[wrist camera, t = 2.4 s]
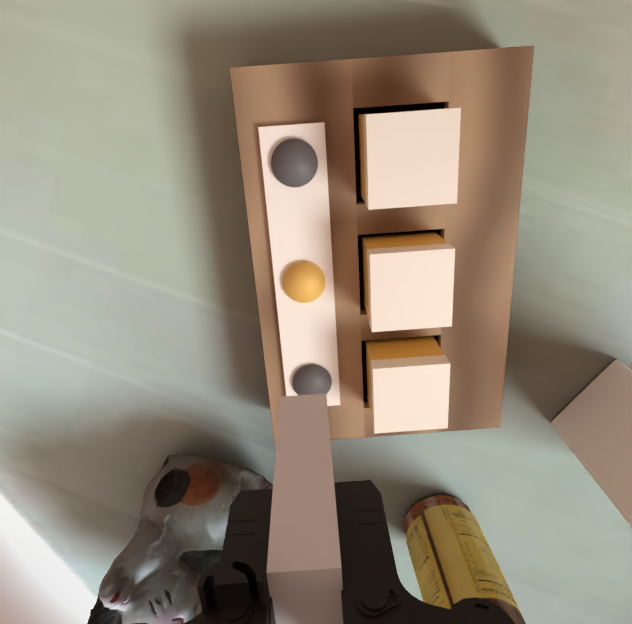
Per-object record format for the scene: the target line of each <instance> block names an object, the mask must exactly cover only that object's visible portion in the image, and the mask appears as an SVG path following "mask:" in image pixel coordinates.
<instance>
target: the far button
mask: <svg viewBox="0 0 632 624" xmlns="http://www.w3.org/2000/svg"><path fill="white" fill-rule="evenodd" d="M366 371H367V399H368V403H369V408H370V412H371V417H372V425H373V429H374V434H375V433H389V432H403V431H417V430H431V429H445V428H448V409H449V385H450V362H449V360H448V358H447V357H446V355H444V354H443V352H442V350H441V349H440V347H439V345H438V343H437V342H436V340H435V338H434V336H420V337H406V338H392V339H378V340H366Z"/></svg>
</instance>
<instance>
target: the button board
mask: <svg viewBox="0 0 632 624" xmlns="http://www.w3.org/2000/svg"><path fill="white" fill-rule="evenodd" d="M533 52H534V46H523V47H509V48H495V49H481V50H468V51H454V52H440V53H426V54H412V55H398V56H385V57H371V58H357V59H343V60H329V61H315V62H301V63H288V64H274V65H260V66H246V67H232V68H230V76H231V84H232V93H233V101H234V109H235V118H236V126H237V134H238V143H239V151H240V159H241V168H242V176H243V184H244V193H245V201H246V209H247V218H248V226H249V234H250V243H251V251H252V259H253V268H254V276H255V285H256V293H257V301H258V310H259V318H260V326H261V335H262V343H263V351H264V360H265V368H266V376H267V385H268V393H269V401H270V410H271V418H272V426H273V435H274V443H275V444H276V439H277V426H278V413H279V399H280V397H283V396H286V389H285V379H284V369H283V360H282V350H281V341H280V331H279V321H278V312H277V302H276V293H275V283H274V273H273V264H272V254H271V245H270V235H269V226H268V216H267V206H266V197H265V187H264V178H263V168H262V158H261V149H260V139H259V130H258V127H265V126H279V125H293V124H307V123H321V122H325V139H326V157H327V175H328V193H329V210H330V228H331V246H332V264H333V281H334V299H335V317H336V335H337V353H338V370H339V388H340V405H335V406H327V407H328V418H329V430H330V440H333V439H347V438H361V437H374V436H388V435H402V434H416V433H430V432H444V431H458V430H472V429H486V428H500V421H501V410H502V399H503V387H504V376H505V365H506V354H507V343H508V332H509V320H510V309H511V298H512V287H513V276H514V265H515V253H516V242H517V231H518V220H519V209H520V198H521V186H522V175H523V164H524V153H525V142H526V131H527V119H528V108H529V97H530V86H531V75H532V64H533ZM433 102H445V108H461V120H460V144H459V168H458V193H457V204H443V205H429V206H415V207H401V208H387V209H373V210H368V208H367V207H366V203H365V202H356V177H355V149H354V120H353V108H364V107H378V106H392V105H406V104H420V103H433ZM433 229H441V238H442V239H444V240H445V241H446V242H447V243H450V244H451V245H452V246H453V247H454V248H455V265H454V289H453V313H452V326H451V327H437V328H423V329H409V330H396V331H382V332H372V331H371V328H370V325H369V318H368V315H367V312H366V310H360V290H359V262H358V235H364V234H377V233H391V232H405V231H419V230H433ZM432 335H438V345H439V347H440V349H441V350H442V352H443V354H444V355H446V357H447V358H448V360H449V362H450V385H449V409H448V428H445V429H431V430H417V431H403V432H389V433H375V434H374V429H373V425H372V417H371V412H370V408H369V403H368V399H367V397H363V375H362V347H361V341H363V340H377V339H391V338H405V337H418V336H432Z"/></svg>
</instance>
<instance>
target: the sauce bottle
mask: <svg viewBox="0 0 632 624" xmlns="http://www.w3.org/2000/svg"><path fill="white" fill-rule="evenodd" d="M404 530H405V533H406V542H407V546H408V550H409V553H410V557H411V561H412V564H413V567H414V571H415V574H416V577H417V581H418V584H419V588H420V591H421V594H422V598H423V601H424V602H425V603H428V604H431V605H435V606H439V607H443V608H447V609H451V608H452V606H453V604H455V603H457V602H459V601H460V600H462V599H464V598H474V597H477V598H481V599H486V600H490V601H491V602H493V603H495V604H496V605H498V606H500V607H501V608H503V610H504V611H505V612H506V613H507V614H508V615H509V616H510V617H511V618H512V619H513V621H514V622H515V624H526V623H525V621H524V619H523V617H522V615H521V612H520V610H519V608H518V606H517V604H516V602H515V599H514V597H513V595H512V593H511V591H510V589H509V587H508V584H507V582H506V580H505V578H504V576H503V574H502V572H501V570H500V567H499V565H498V564H497V561H496V559H495V557H494V555H493V553H492V551H491V549H490V547H489V545H488V543H487V541H486V539H485V537H484V535H483V533H482V531H481V529H480V526H479V524H478V522H477V520H476V518H475V517H474V516H473V514H472V513H471V511H470V509H469V508H468V506H467V505H466V504H464V503H463V502H461V501H460V500H458V499H456V498H453V497H452V496H447V495H442V494H440V495H435V496H432V497H429V498H426V499H423V500H420V501H419V502H417V503H416V504H415V505H413V506H412V507H411V509H410V510H409V511H408V514H407V515H406V517H405V521H404Z"/></svg>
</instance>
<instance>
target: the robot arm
mask: <svg viewBox="0 0 632 624" xmlns="http://www.w3.org/2000/svg"><path fill="white" fill-rule="evenodd" d="M197 589H198V594H199V598H200V603H201V607H202V612H201V613H199V614H198V615H197V616H195V617H194V618H193V619H191V620H189V621H187V622H185V623H183V624H515V622H514V621H513V619H512V618H511V617H510V616H509V615H508V614H507V613H506V612H505V611H504V610H503V608H501V607H500V606H498V605H496V604H495V603H493V602H491V601H490V600H486V599H481V598H477V597H474V598H464V599H462V600H460V601H459V602H457V603H455V604H453V606H452V608H451V609H447V608H443V607H439V606H435V605H431V604H428V603H425V602H422V601H420V600H418V599H417V598H415V597H414V596H412V595H411V594H410V593H409V592H408V591H407V590H406V589H405V588H404V587H403V585H402V584H401V582H400V580H399V577H398V574H397V570H396V565H395V560H394V556H393V551H392V546H391V541H390V536H389V531H388V526H387V521H386V517H385V512H384V507H383V502H382V497H381V493H380V492H379V491H378V489H377V488H376V487H375V485H374V484H373V483H372V482H371V480H365V481H351V482H337V483H334V476H333V464H332V453H331V441H330V430H329V418H328V407H327V395H326V393H325V394H311V395H297V396H283V397H280V399H279V413H278V426H277V439H276V453H275V466H274V479H273V488H271V489H257V490H243V491H240V492H239V493H238V495H237V496H236V498H235V499H234V501H233V502H232V504H231V505H230V510H229V515H228V521H227V526H226V532H225V538H224V543H223V549H222V554H221V560H219V561H218V562H216V563H214V564H212V565H211V566H210V567H209V568H208V569H207V570H206V571H205V572H204V573H203V574H202V575H201V578H200V580H199V582H198V585H197ZM133 624H148V623H133Z"/></svg>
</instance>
